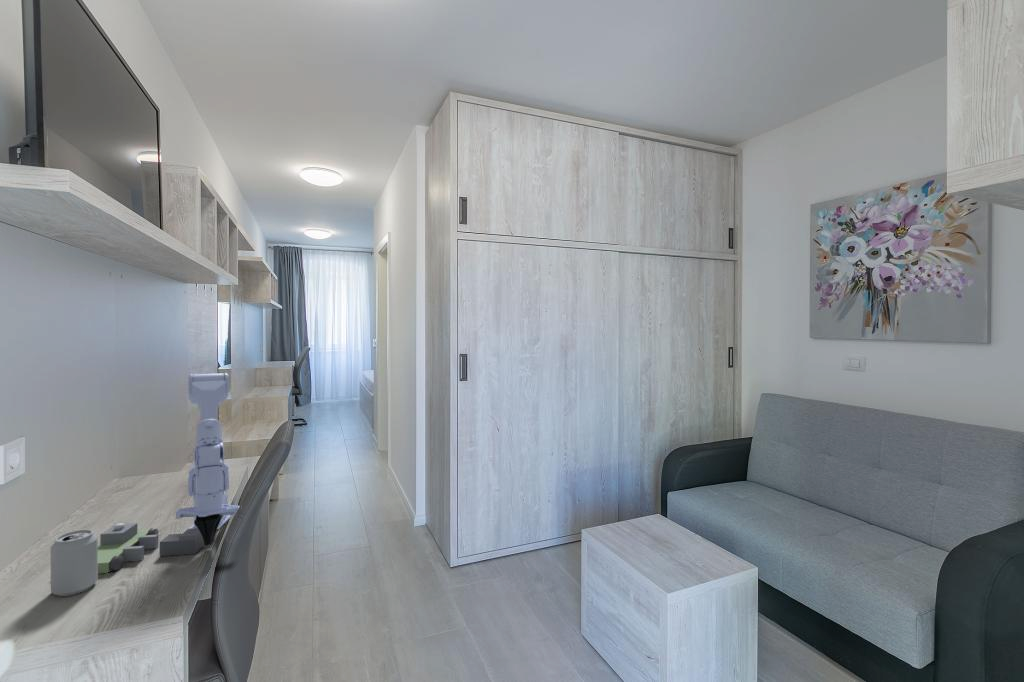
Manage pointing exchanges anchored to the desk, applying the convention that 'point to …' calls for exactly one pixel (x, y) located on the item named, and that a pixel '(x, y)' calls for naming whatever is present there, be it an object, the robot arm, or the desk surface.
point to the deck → (124, 545)
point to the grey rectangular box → (181, 543)
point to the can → (74, 562)
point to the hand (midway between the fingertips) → (209, 543)
